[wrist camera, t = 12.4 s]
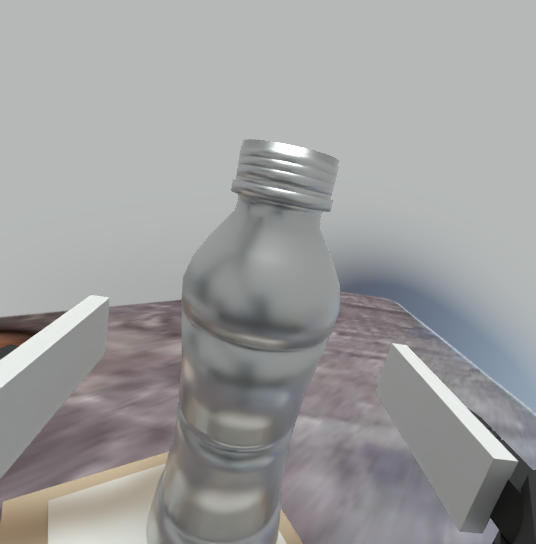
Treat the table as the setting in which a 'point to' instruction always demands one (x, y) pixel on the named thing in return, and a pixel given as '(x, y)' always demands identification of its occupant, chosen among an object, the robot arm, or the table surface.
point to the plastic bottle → (248, 350)
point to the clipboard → (96, 509)
